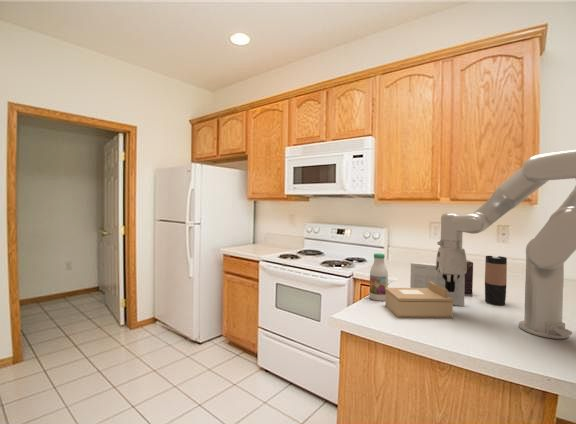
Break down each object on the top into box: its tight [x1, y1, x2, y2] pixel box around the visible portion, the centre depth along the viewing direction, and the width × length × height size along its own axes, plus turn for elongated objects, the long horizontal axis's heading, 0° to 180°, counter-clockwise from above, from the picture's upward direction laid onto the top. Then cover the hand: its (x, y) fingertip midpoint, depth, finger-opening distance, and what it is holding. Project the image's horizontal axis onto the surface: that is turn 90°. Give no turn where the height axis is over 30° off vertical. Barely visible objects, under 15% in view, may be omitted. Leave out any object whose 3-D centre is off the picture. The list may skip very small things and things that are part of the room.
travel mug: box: [484, 255, 508, 307], centre depth 127 cm, size 8×8×20 cm
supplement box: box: [464, 259, 474, 297], centre depth 141 cm, size 9×5×16 cm, turn 168°
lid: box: [385, 282, 454, 302], centre depth 116 cm, size 14×20×4 cm
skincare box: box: [409, 261, 465, 307], centre depth 130 cm, size 21×6×16 cm, turn 57°
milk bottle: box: [369, 253, 389, 302], centre depth 131 cm, size 8×8×20 cm
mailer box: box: [385, 291, 454, 319], centre depth 116 cm, size 14×20×6 cm
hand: (449, 291), depth 116 cm, fingers closed
